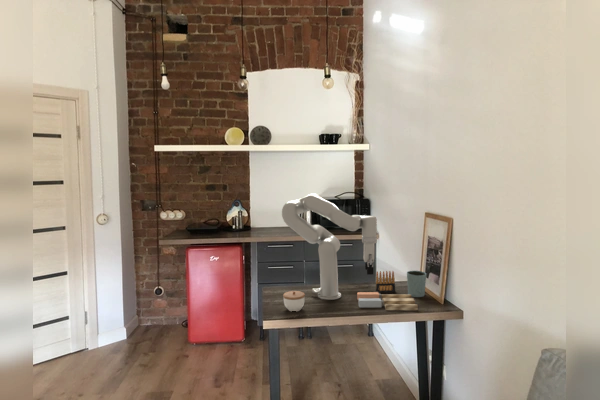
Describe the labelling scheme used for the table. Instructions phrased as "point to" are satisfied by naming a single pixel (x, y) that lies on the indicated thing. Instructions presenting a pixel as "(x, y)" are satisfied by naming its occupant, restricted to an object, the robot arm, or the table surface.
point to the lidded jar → (294, 300)
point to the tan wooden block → (368, 295)
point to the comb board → (399, 302)
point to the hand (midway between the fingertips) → (369, 271)
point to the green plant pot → (416, 283)
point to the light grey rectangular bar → (370, 302)
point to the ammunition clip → (385, 282)
